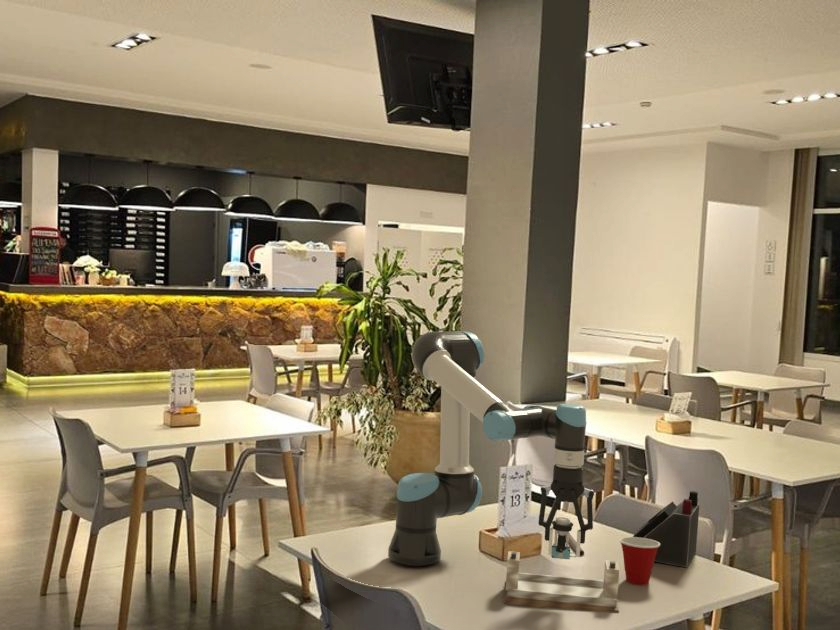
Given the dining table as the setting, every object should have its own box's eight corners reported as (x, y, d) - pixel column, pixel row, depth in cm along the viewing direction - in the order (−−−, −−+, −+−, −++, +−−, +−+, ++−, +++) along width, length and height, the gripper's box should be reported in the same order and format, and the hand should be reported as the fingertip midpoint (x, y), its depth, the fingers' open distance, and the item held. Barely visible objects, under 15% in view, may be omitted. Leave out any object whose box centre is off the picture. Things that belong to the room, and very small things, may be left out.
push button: (575, 555, 233) (578, 517, 232) (576, 562, 227) (579, 523, 227) (549, 553, 233) (552, 515, 233) (550, 560, 228) (552, 521, 228)
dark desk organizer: (640, 546, 278) (645, 482, 276) (695, 556, 270) (700, 491, 269) (629, 561, 263) (633, 493, 262) (686, 572, 256) (691, 503, 255)
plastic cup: (653, 578, 249) (656, 535, 249) (661, 592, 239) (664, 547, 238) (614, 575, 250) (616, 532, 249) (619, 589, 239) (622, 544, 239)
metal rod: (577, 556, 266) (578, 549, 266) (556, 528, 293) (557, 522, 293) (584, 556, 266) (584, 550, 266) (562, 529, 293) (563, 523, 293)
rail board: (504, 603, 225) (506, 561, 224) (507, 580, 241) (509, 540, 241) (618, 615, 221) (621, 572, 220) (613, 590, 238) (615, 550, 237)
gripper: (530, 465, 227) (525, 555, 228) (608, 471, 224) (603, 562, 225) (530, 459, 234) (526, 546, 235) (606, 464, 232) (601, 552, 233)
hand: (563, 554), depth 230 cm, fingers closed on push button, 6 cm apart
